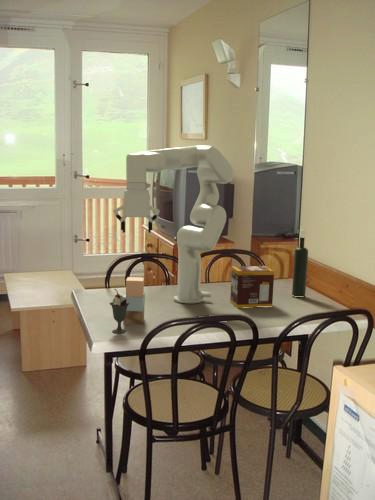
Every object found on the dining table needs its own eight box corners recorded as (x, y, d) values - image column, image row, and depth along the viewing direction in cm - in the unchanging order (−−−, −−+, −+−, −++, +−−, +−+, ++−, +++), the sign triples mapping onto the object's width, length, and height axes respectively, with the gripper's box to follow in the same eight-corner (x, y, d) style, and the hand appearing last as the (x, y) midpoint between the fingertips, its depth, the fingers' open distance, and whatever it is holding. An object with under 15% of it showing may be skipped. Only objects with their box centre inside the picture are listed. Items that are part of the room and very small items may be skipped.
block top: (144, 306, 222) (144, 293, 221) (142, 311, 215) (142, 297, 214) (125, 305, 222) (126, 292, 222) (123, 310, 215) (123, 297, 215)
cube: (143, 293, 221) (143, 277, 220) (142, 297, 215) (142, 281, 214) (127, 292, 221) (127, 277, 220) (125, 296, 215) (126, 280, 214)
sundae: (109, 328, 210) (110, 287, 207) (129, 328, 210) (129, 287, 208) (108, 334, 203) (109, 291, 201) (128, 334, 204) (129, 291, 201)
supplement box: (229, 302, 253) (231, 265, 250) (264, 301, 256) (266, 265, 253) (236, 308, 243) (238, 270, 240) (272, 307, 246) (274, 270, 244)
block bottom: (144, 319, 223) (144, 306, 222) (142, 324, 216) (142, 311, 215) (125, 318, 223) (125, 305, 222) (123, 324, 216) (123, 310, 215)
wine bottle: (307, 297, 266) (312, 230, 261) (298, 298, 262) (302, 230, 257) (298, 294, 270) (302, 228, 265) (289, 295, 267) (293, 229, 262)
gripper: (159, 186, 227) (159, 230, 230) (114, 185, 226) (114, 230, 229) (159, 187, 219) (159, 234, 223) (112, 187, 219) (112, 233, 222)
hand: (136, 232), depth 226 cm, fingers open, 9 cm apart
